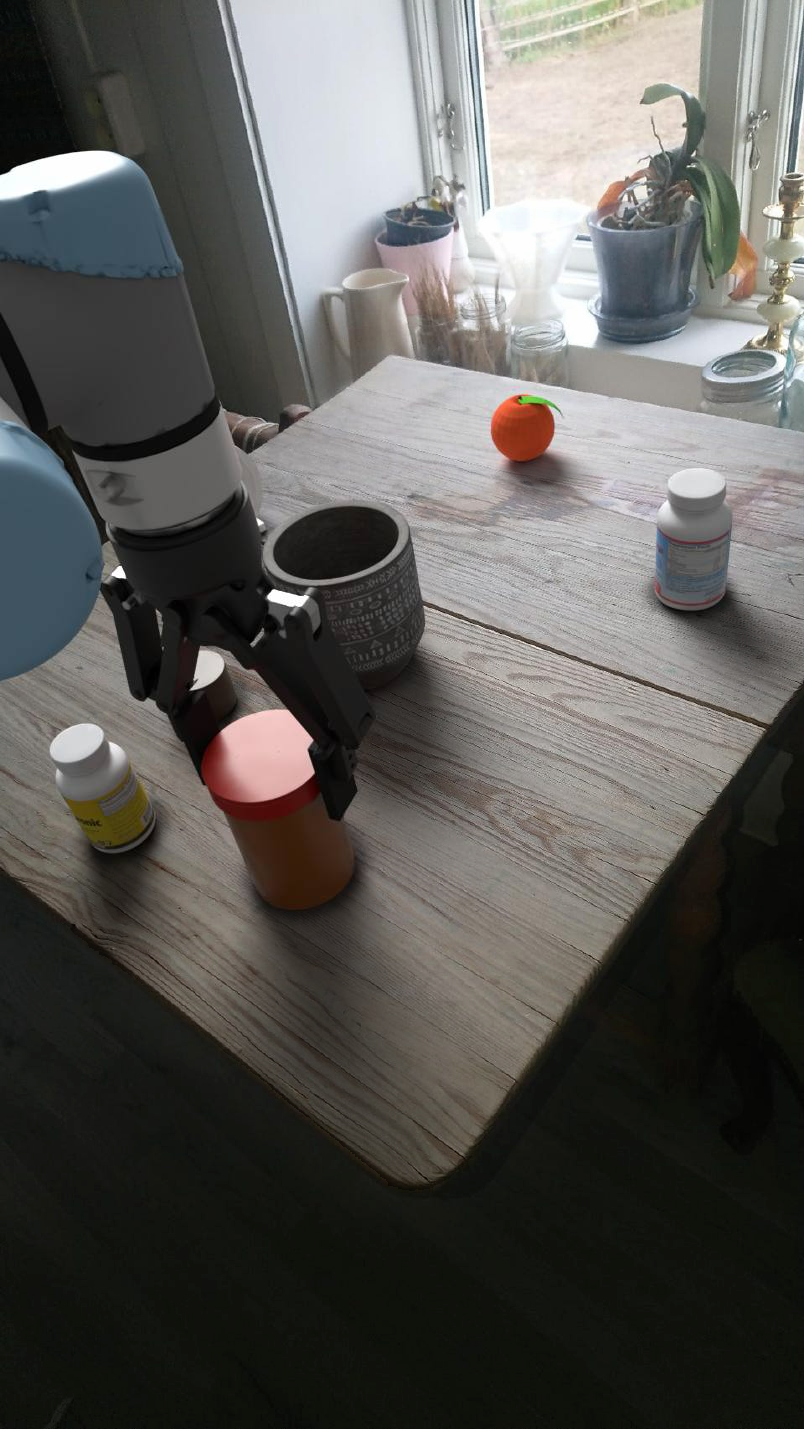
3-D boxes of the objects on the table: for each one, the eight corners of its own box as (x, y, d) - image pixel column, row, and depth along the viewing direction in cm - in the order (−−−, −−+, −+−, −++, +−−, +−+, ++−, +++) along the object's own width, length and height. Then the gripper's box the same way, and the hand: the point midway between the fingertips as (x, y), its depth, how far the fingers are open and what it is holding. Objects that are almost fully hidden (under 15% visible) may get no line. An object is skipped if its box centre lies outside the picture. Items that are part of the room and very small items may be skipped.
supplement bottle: (77, 831, 77) (26, 745, 70) (135, 791, 79) (91, 704, 73) (111, 868, 74) (61, 781, 67) (170, 825, 76) (127, 737, 69)
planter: (351, 603, 93) (324, 486, 84) (457, 638, 87) (439, 516, 78) (268, 680, 87) (230, 562, 78) (376, 724, 81) (348, 602, 72)
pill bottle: (665, 567, 90) (670, 458, 82) (732, 578, 87) (744, 467, 80) (645, 606, 86) (648, 497, 79) (715, 619, 84) (725, 507, 76)
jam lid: (184, 803, 63) (175, 785, 62) (248, 717, 68) (242, 699, 67) (294, 834, 60) (287, 816, 59) (354, 741, 65) (348, 722, 64)
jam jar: (233, 894, 70) (186, 788, 62) (285, 816, 75) (246, 708, 67) (325, 923, 67) (287, 815, 59) (372, 840, 72) (343, 730, 64)
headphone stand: (206, 534, 106) (172, 433, 98) (253, 510, 108) (224, 410, 100) (226, 550, 103) (193, 447, 95) (274, 525, 105) (246, 423, 97)
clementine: (569, 439, 109) (567, 379, 104) (562, 472, 104) (559, 411, 100) (498, 441, 111) (493, 382, 106) (488, 473, 107) (482, 413, 102)
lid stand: (167, 718, 85) (153, 684, 82) (199, 679, 88) (186, 645, 86) (216, 730, 83) (203, 696, 80) (247, 690, 86) (236, 655, 84)
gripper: (-32, 516, 52) (117, 792, 67) (325, 569, 43) (403, 873, 59) (56, 444, 57) (177, 718, 72) (396, 479, 48) (450, 783, 63)
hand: (278, 788), depth 65 cm, fingers open, 9 cm apart
